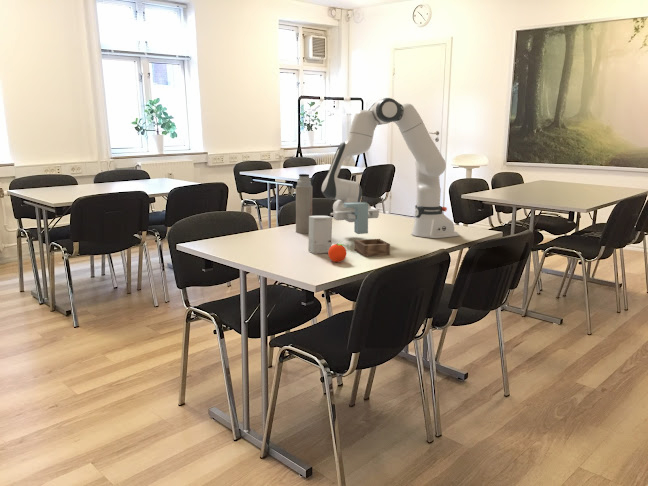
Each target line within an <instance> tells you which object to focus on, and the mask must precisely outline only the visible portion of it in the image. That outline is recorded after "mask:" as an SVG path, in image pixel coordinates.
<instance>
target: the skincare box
mask: <svg viewBox="0 0 648 486" xmlns="http://www.w3.org/2000/svg"><path fill="white" fill-rule="evenodd" d="M332 230H333V217H332V216H331V215H330V216H328V215H312V216H309V233H308V249H307V250H308V252H310V253H311V254H313V255H317V254H318V255H319V254H326V253H328V251H329V249H330V247H331V246H332V240H333V239H332V238H333V237H332V233H333V231H332Z"/></svg>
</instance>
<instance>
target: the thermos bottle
mask: <svg viewBox="0 0 648 486" xmlns="http://www.w3.org/2000/svg"><path fill="white" fill-rule="evenodd" d="M298 176H299V177H298V180H297V182H296V185H295V233H298V234H309V216H313V185H312V181H311V180H310V174H307V173H301V174H298Z"/></svg>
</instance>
